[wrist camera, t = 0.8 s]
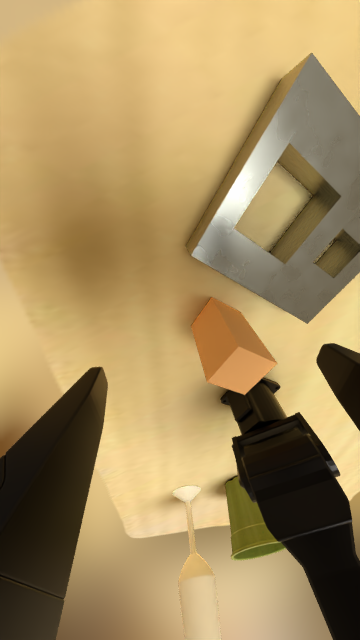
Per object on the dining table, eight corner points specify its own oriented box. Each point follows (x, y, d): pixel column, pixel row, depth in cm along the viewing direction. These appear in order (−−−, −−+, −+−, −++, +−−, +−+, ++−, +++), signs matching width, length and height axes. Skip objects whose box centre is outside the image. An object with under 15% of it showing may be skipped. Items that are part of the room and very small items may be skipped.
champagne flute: (188, 482, 45) (216, 717, 25) (206, 489, 48) (244, 702, 28) (166, 494, 47) (176, 720, 27) (185, 499, 50) (206, 706, 30)
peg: (240, 312, 23) (277, 363, 16) (219, 338, 24) (244, 394, 18) (211, 297, 21) (238, 346, 15) (191, 325, 23) (206, 382, 16)
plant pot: (224, 495, 52) (240, 563, 43) (208, 480, 46) (222, 555, 36) (269, 481, 50) (296, 549, 41) (259, 463, 44) (288, 538, 35)
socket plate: (388, 203, 18) (426, 206, 16) (290, 309, 23) (307, 323, 21) (281, 78, 13) (311, 52, 11) (185, 246, 18) (190, 255, 16)
